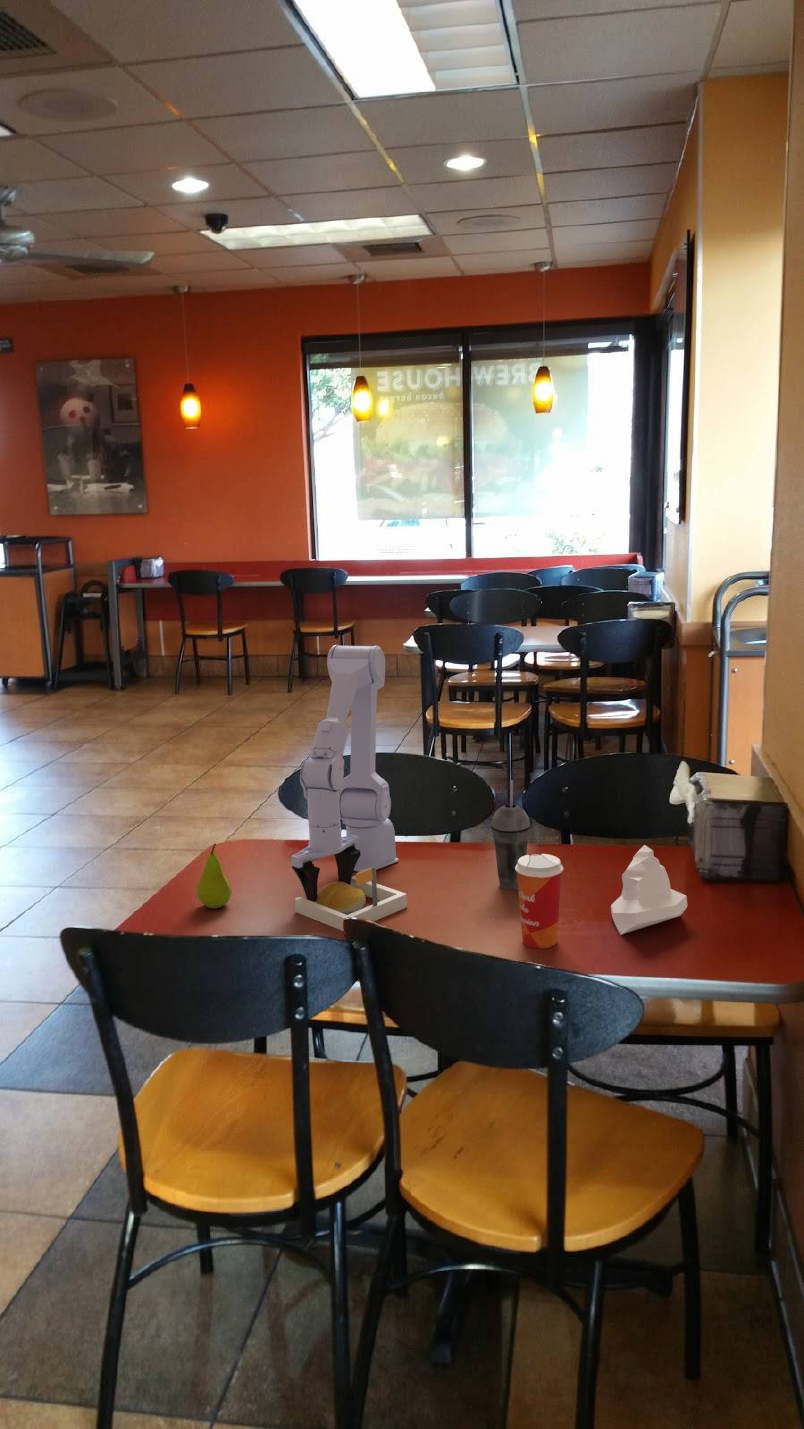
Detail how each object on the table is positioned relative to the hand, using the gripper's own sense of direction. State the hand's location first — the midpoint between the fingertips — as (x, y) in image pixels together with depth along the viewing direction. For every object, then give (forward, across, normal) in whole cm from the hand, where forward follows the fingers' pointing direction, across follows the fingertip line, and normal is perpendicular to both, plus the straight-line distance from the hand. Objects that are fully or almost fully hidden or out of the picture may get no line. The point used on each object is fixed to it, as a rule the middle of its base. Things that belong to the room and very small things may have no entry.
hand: (328, 893), depth 194 cm
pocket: (+1, 0, +6) cm, 6 cm away
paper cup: (+2, -11, +40) cm, 41 cm away
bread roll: (+2, 0, +4) cm, 4 cm away
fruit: (+2, +15, -14) cm, 21 cm away
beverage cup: (+2, -27, +21) cm, 34 cm away
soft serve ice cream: (+2, -28, +49) cm, 56 cm away
